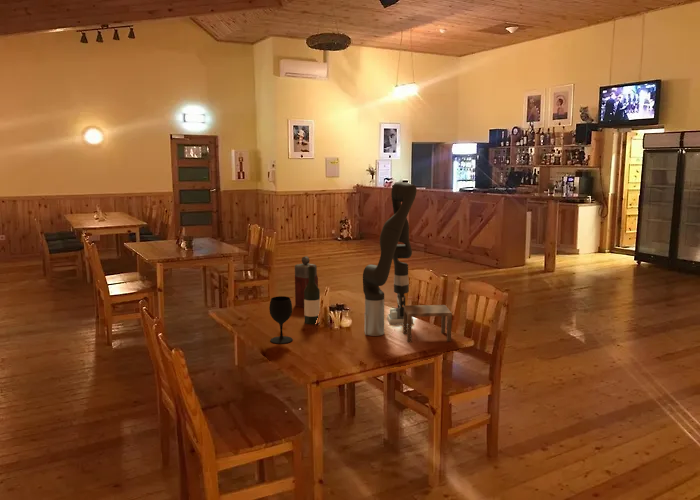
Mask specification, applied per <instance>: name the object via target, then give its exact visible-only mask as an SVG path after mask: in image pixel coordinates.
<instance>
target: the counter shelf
mask: <svg viewBox="0 0 700 500" xmlns="http://www.w3.org/2000/svg"><path fill="white" fill-rule="evenodd" d="M452 315H453V313H452V311H451V310H450V309H449V307H448V306H447V305H446V304H423V305H422V304H418V305H412V304H411V305H405V306H404V324H403V329H402V330H403V332H402V333H403V334H404V335H406V334H407V336H406V337H407V338H406V339H407V340H406V341H407V343H412V331H413V330H412V328H413V327H412V325H413V324H412V318H415V317H416V318H417V317H419V318H421V317H423V318H424V317H426V318H427V317H441V320H440V321H441V322H440V323H441V325H440V327H441V328H440V331H441V334H445V333H446V342H452V320H453V319H452V318H453V316H452ZM407 316H408V324H407ZM446 319H447V321H446ZM446 323H447V324H446Z"/></svg>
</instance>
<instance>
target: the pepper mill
mask: <svg viewBox="0 0 700 500" xmlns="http://www.w3.org/2000/svg"><path fill="white" fill-rule="evenodd" d="M310 264H311V263H310V258H309V256H303V257H302V258H301V263H299V264H298V263H297V264H295V265H294V300H295V301H294V304H295V306H297V307H301V308H304V290H305V288H306V286H307V285H308V283H309V275H308V266H309V265H310ZM312 264H313V265H314V266H315V283H316V285H317V286H318V287H319V278H318V273H317V272H318V269H317V267H318V266H317V265H316V264H315V263H312Z"/></svg>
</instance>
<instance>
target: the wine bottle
mask: <svg viewBox="0 0 700 500" xmlns="http://www.w3.org/2000/svg"><path fill="white" fill-rule="evenodd" d="M309 264H310V265H309V266H308V275H309V283H308V285H307V286H306V288H305V290H304V307H303V308H304V312H303V313H304V324H306V325H316V324H315V323H316V320H317V318H318V314H319V311H320V312H321V307H320V306H321V302H320V301H321V297H320V295H321V294H320V293H321V290H320V288H319V285H318V286H317V285H316V283H315V266H314V265H313V264H314V263H309Z"/></svg>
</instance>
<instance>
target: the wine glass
mask: <svg viewBox="0 0 700 500" xmlns="http://www.w3.org/2000/svg"><path fill="white" fill-rule="evenodd" d="M292 304H293V303H292V300H291V297H289V296H284V295H279V296H273V297H271V298H270V302H269V314H270V316H271V318H272V319H273V321H275V322H276V323H277V324H279V329H280V332H279V334H280V335H279V336H275V337H272V338H271V339H270V340H269V341H270V342H271V343H272V344H276V345H285V344H289V343H292V342H293V341H294V340H293V337H290V336H286V335H285V336H284V335H283V334H284V333H283V327H284V323H286V322H287V321H288V320H289V319H290V318H291V315H292V313H293V305H292Z"/></svg>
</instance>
